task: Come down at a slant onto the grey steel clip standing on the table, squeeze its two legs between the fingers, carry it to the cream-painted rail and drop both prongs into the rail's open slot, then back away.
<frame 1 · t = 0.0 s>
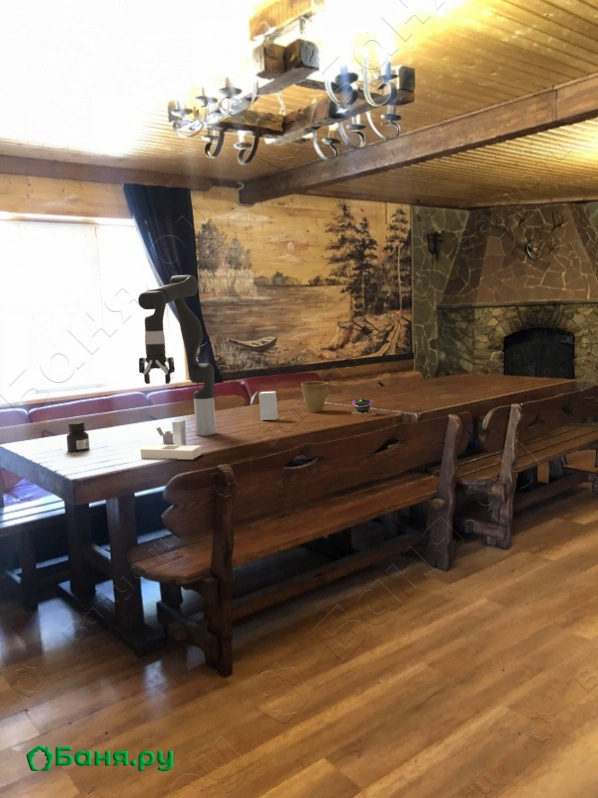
hand: (157, 383, 249), 29 cm above the table, tool pointing down, fingers open, 8 cm apart
plant pot: (315, 411, 352), on the table
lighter: (165, 443, 278), on the table
skincare box: (268, 420, 329), on the table
clip: (180, 449, 265), on the table
rail: (171, 456, 253), on the table
ink bottle: (78, 450, 270), on the table
toy cauldron: (363, 414, 339), on the table
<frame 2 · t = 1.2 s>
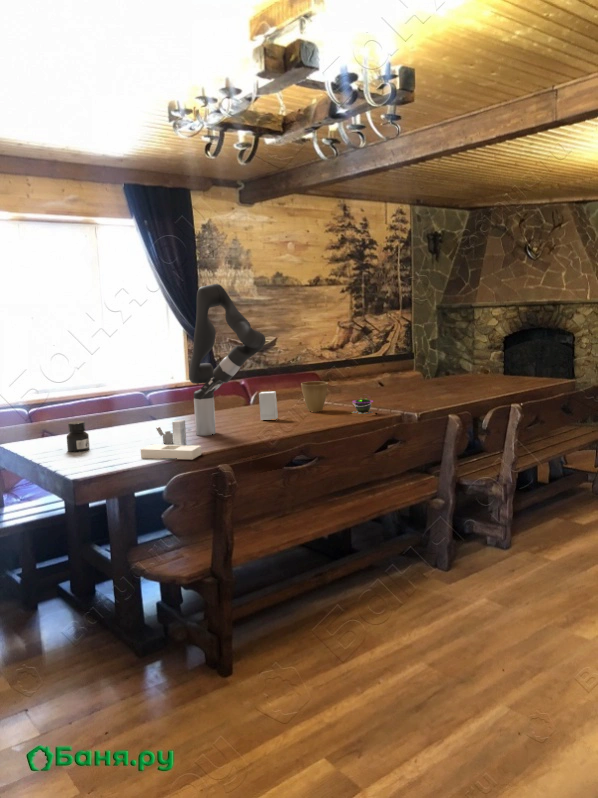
hand: (202, 396, 259), 22 cm above the table, tool tilted 45°, fingers open, 8 cm apart
nothing on the table moved.
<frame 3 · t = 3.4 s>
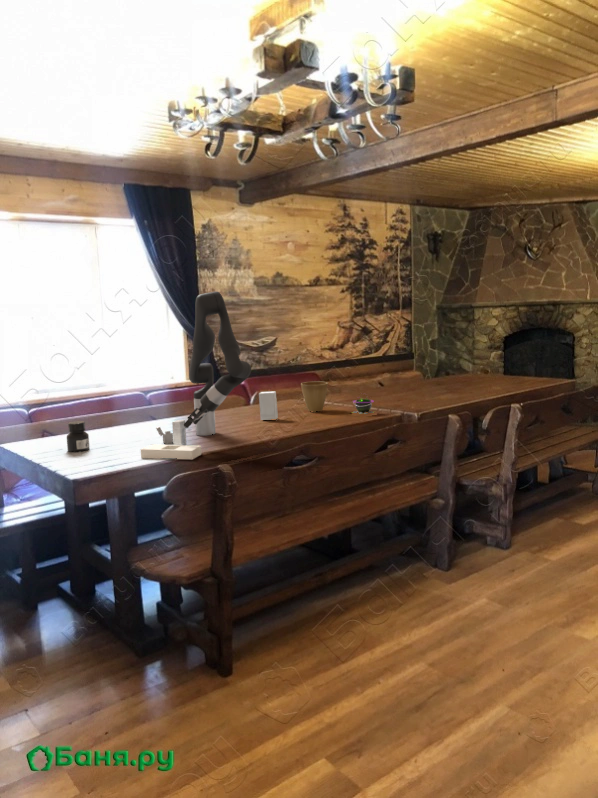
hand: (189, 424, 263), 10 cm above the table, tool tilted 45°, fingers open, 8 cm apart
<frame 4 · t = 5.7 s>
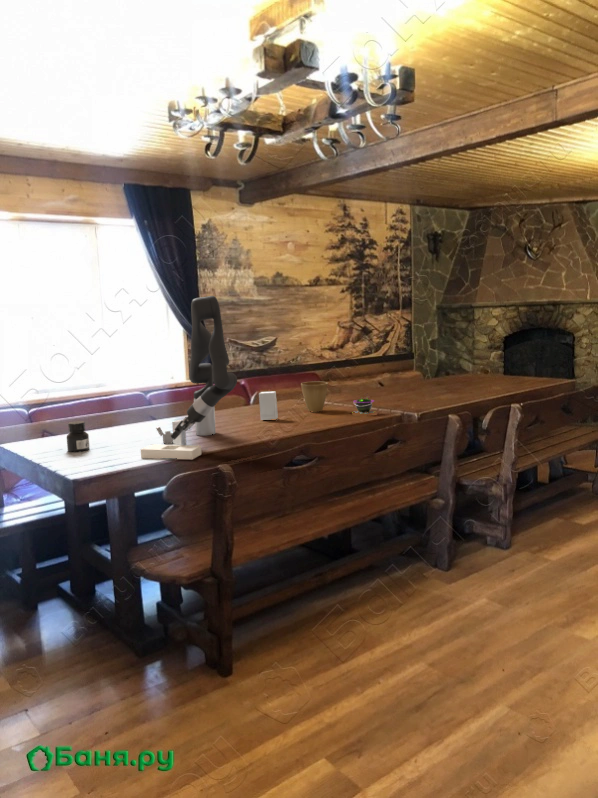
hand: (175, 436, 265), 5 cm above the table, tool tilted 45°, fingers closed on clip, 5 cm apart
clip: (180, 449, 265), on the table, touching gripper
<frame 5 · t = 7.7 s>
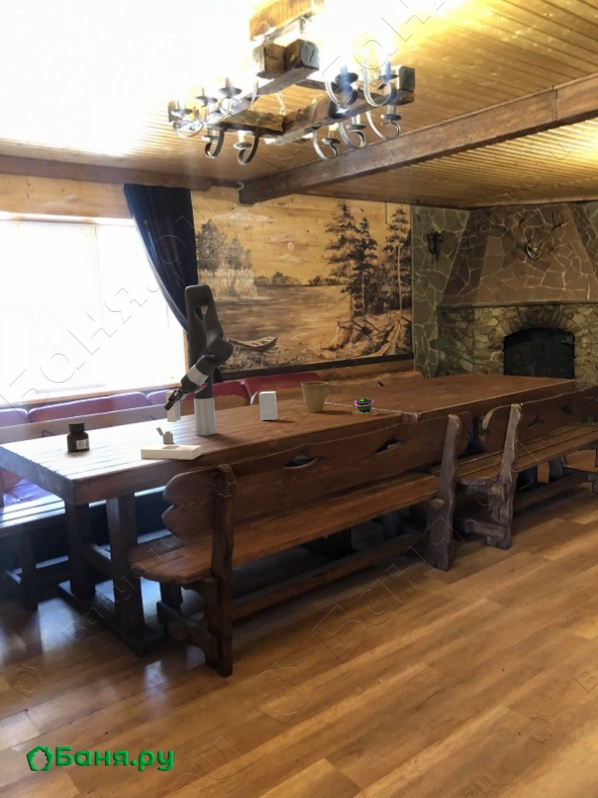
hand: (169, 408, 255), 19 cm above the table, tool tilted 45°, fingers closed on clip, 5 cm apart
clip: (174, 421, 256), point 13 cm above the table, touching gripper
when the fingers open (7 cm above the table, at t = 10.2 s): clip drops 1 cm, resting in rail.
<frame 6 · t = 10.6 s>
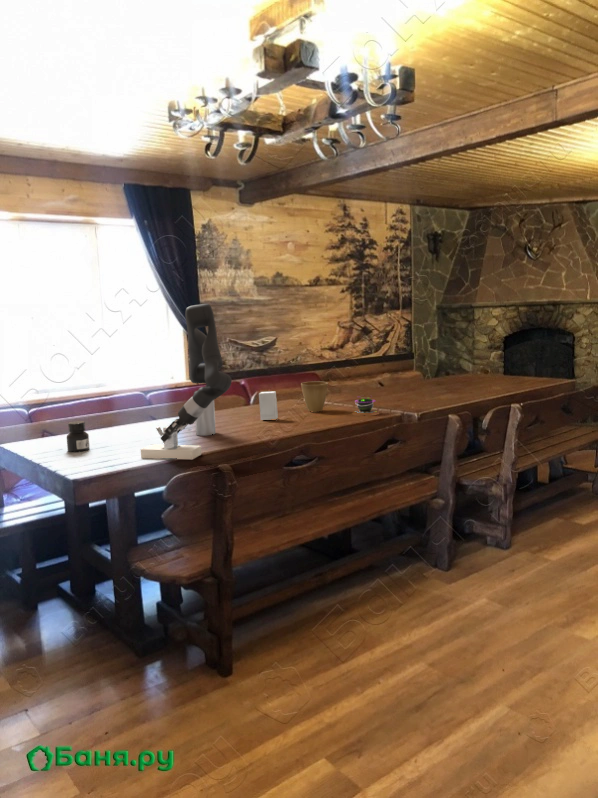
hand: (167, 438, 252), 7 cm above the table, tool tilted 45°, fingers open, 8 cm apart
clip: (171, 456, 253), resting in rail
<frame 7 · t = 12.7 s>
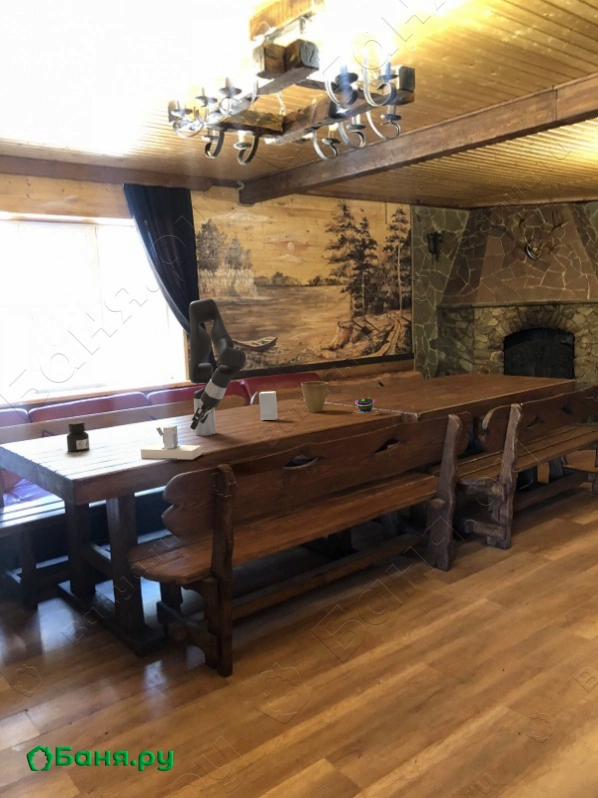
hand: (196, 425, 251), 12 cm above the table, tool tilted 35°, fingers open, 8 cm apart
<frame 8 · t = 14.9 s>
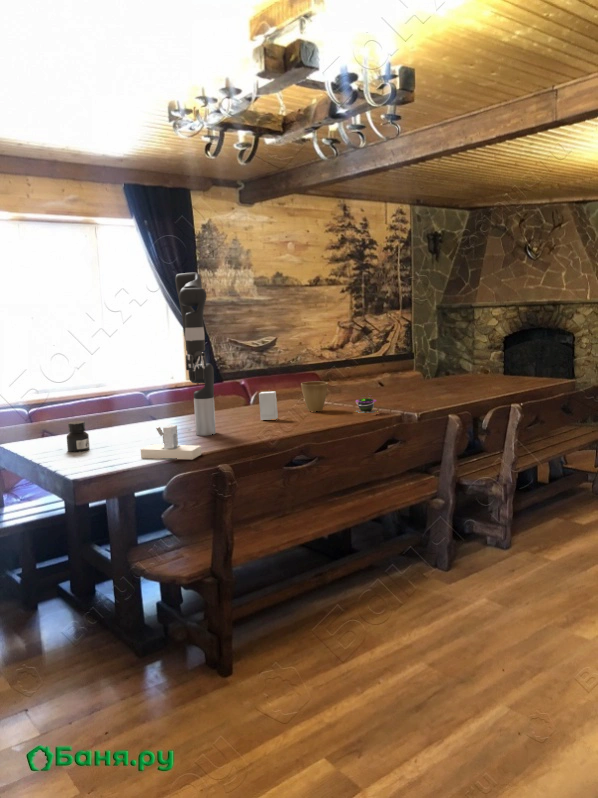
hand: (197, 379, 252), 30 cm above the table, tool pointing down, fingers open, 8 cm apart
at the end: clip 0.1 cm off-centre on the rail, point 0.0 cm above the rail's base; clip tilted 0°; the gripper is holding nothing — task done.
